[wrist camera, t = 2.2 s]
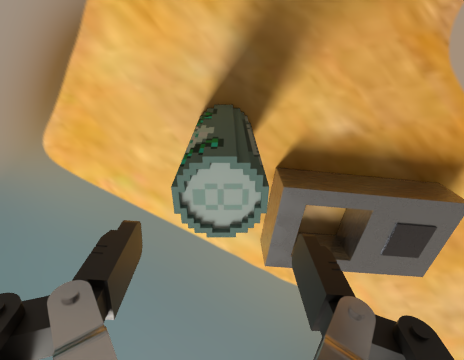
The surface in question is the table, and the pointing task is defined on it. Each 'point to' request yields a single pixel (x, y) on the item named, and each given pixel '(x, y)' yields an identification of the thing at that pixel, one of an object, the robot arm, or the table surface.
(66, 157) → the table surface
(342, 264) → the block with square hole
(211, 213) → the can
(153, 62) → the table surface
